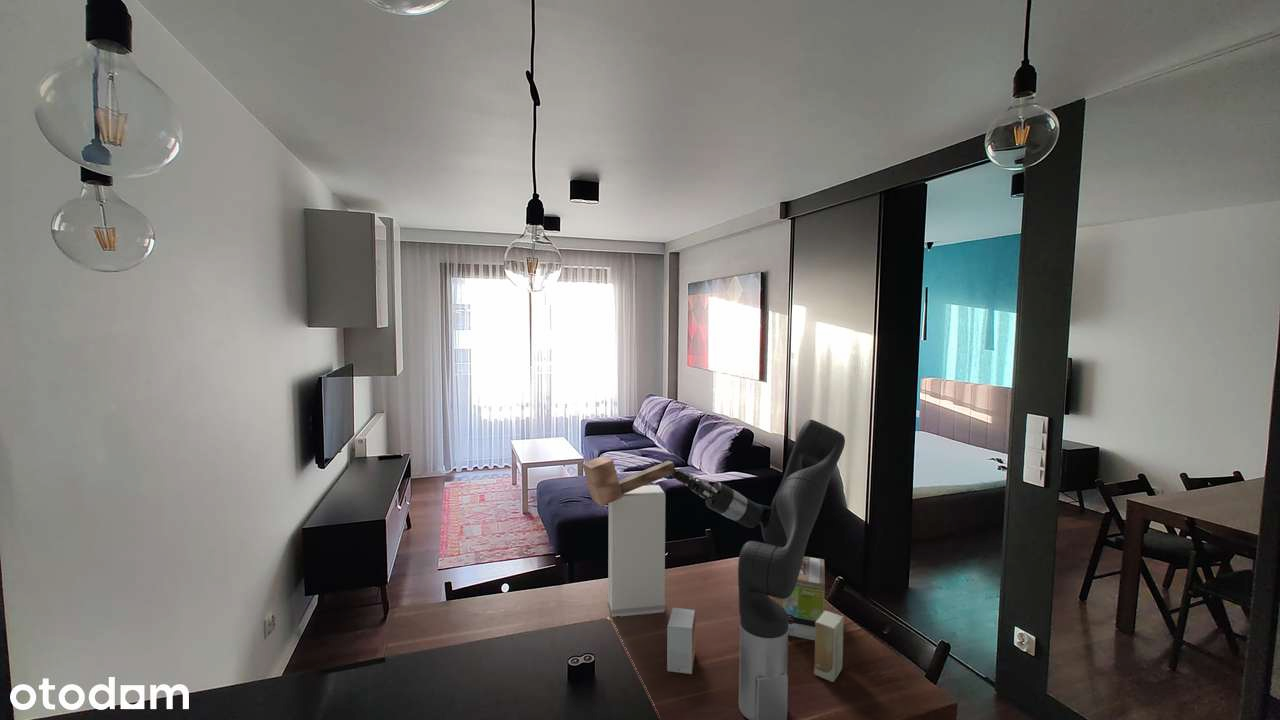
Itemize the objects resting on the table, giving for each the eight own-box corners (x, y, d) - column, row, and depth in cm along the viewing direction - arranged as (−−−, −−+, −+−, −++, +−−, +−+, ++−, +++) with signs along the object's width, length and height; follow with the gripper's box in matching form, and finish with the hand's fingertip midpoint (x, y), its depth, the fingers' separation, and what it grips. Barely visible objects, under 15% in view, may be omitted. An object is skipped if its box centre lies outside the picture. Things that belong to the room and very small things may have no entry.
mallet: (667, 468, 146) (658, 434, 145) (679, 473, 140) (670, 437, 139) (591, 499, 137) (582, 463, 136) (601, 506, 131) (591, 468, 130)
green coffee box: (823, 643, 127) (825, 583, 126) (780, 635, 130) (781, 576, 129) (823, 611, 141) (824, 557, 140) (784, 604, 144) (785, 552, 143)
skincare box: (823, 660, 120) (825, 608, 119) (843, 668, 117) (844, 615, 116) (812, 675, 115) (814, 621, 114) (832, 683, 112) (834, 628, 111)
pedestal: (658, 596, 148) (659, 484, 146) (665, 612, 140) (666, 494, 138) (607, 601, 145) (607, 487, 143) (611, 617, 137) (611, 497, 135)
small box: (691, 675, 115) (692, 628, 114) (666, 671, 116) (666, 625, 115) (695, 653, 122) (696, 609, 122) (671, 650, 124) (672, 606, 123)
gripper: (724, 482, 152) (674, 454, 149) (742, 497, 139) (687, 467, 136) (711, 505, 152) (661, 478, 149) (728, 522, 139) (673, 492, 135)
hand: (674, 473), depth 142 cm, fingers closed
